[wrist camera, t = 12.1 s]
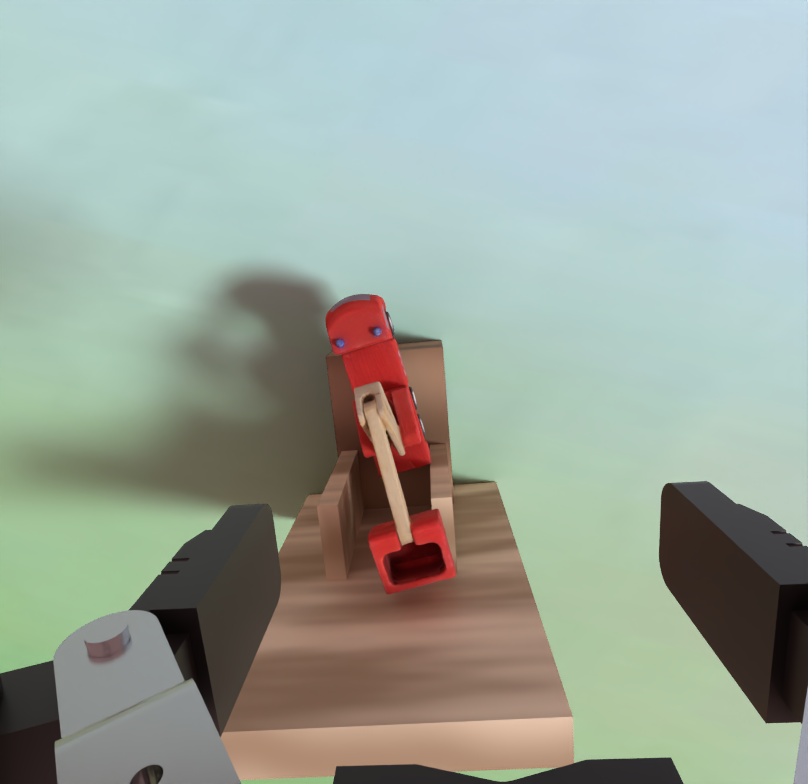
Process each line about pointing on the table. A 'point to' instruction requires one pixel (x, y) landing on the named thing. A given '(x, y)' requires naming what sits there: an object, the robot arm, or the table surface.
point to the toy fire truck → (389, 442)
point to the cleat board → (400, 627)
